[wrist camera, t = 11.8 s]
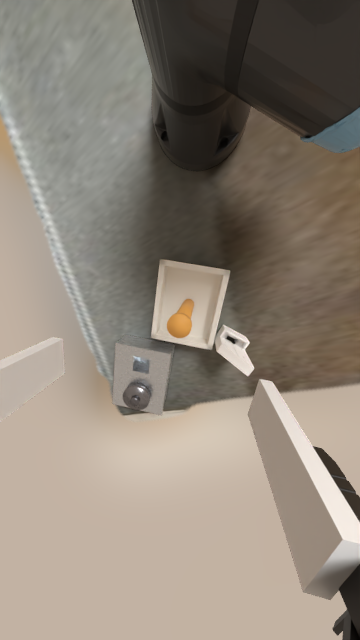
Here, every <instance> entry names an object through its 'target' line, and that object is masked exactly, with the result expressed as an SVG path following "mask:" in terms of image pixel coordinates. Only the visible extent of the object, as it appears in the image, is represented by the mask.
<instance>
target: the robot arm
mask: <svg viewBox="0 0 360 640" xmlns="http://www.w3.org/2000/svg"><path fill="white" fill-rule="evenodd" d="M132 2H133V6H134V10H135V13H136V17H137V20H138V24H139V28H140V31H141V35H142V39H143V42H144V46H145V50H146V53H147V57H148V61H149V64H150V68H151V71H152V118H153V123H154V128H155V131H156V134H157V137H158V140H159V143H160V145H161V147H162V149H163V151H164V152H165V154H166V155H167V156H168V158H169V159H170V160H171V161H172V162H174V163H175V164H176V165H178V166H180V167H182V168H184V169H187V170H192V171H200V170H206V169H209V168H212V167H214V166H216V165H217V164H219V163H220V162H222V161H223V160H224V159H225V158H227V157H228V156H229V155H230V153H231V152H232V151H233V150H234V148H235V147H236V145H237V144H238V142H239V140H240V138H241V136H242V134H243V132H244V129H245V126H246V122H247V119H248V115H249V112H250V107H251V106H252V107H253V108H255V109H257V110H258V111H260V112H262V113H263V114H265V115H266V116H268V117H270V118H271V119H273V120H275V121H276V122H278V123H279V124H281V125H283V126H284V127H286V128H287V129H289V130H291V131H292V132H294V133H296V134H297V135H299V136H300V137H301V140H302V141H304V142H313V143H315V144H317V145H319V146H321V147H323V148H325V149H327V150H329V151H331V152H334V153H343V152H346V151H350V150H352V149H354V148H358V147H360V0H132ZM64 374H65V364H64V347H63V339H61V338H55V337H52V338H49V339H47V340H45V341H43V342H40V343H38V344H36V345H33V346H31V347H29V348H27V349H24V350H22V351H20V352H18V353H15V354H13V355H11V356H8V357H6V358H4V359H2V360H0V422H1V421H2V420H4V419H5V418H6V417H8V416H9V415H10V414H12V413H13V412H14V411H16V410H17V409H18V408H20V407H21V406H22V405H24V404H25V403H26V402H28V401H29V400H30V399H32V398H33V397H34V396H36V395H37V394H38V393H40V392H41V391H42V390H44V389H45V388H46V387H48V386H49V385H50V384H52V383H53V382H54V381H56V380H57V379H58V378H60V377H61V376H62V375H64ZM248 416H249V419H250V422H251V426H252V429H253V432H254V435H255V439H256V442H257V445H258V448H259V452H260V455H261V458H262V461H263V464H264V468H265V471H266V474H267V477H268V481H269V484H270V487H271V490H272V493H273V496H274V500H275V503H276V506H277V509H278V513H279V516H280V519H281V522H282V526H283V529H284V532H285V535H286V538H287V541H288V545H289V548H290V551H291V554H292V558H293V561H294V564H295V567H296V571H297V574H298V577H299V580H300V583H301V587H302V590H303V592H305V593H308V594H312V595H315V596H319V597H322V598H325V599H328V600H331V599H332V597H333V596H334V595H335V594H336V593H337V592H338V591H340V593H341V595H342V598H343V600H344V602H345V605H346V607H347V610H346V611H345V612H344V614H343V615H341V617H340V618H339V619H338V620H337V621H336V622H335V625H334V627H333V631H334V632H335V633H336V634H337V635H339V634H340V633H341V632H342V631H343V640H360V497H359V496H358V495H356V492H355V490H354V489H353V487H352V486H351V484H350V483H349V481H347V480H346V477H345V475H344V474H343V472H342V471H341V470H340V468H339V467H338V465H337V464H336V462H335V461H334V460H333V459H332V458H331V457H330V456H329V455H328V454H327V453H326V452H325V451H324V450H323V449H322V448H318V447H314V446H312V445H311V443H310V441H309V440H308V438H307V437H306V435H305V434H304V432H303V430H302V429H301V427H300V425H299V424H298V422H297V421H296V419H295V417H294V416H293V414H292V412H291V411H290V409H289V408H288V406H287V404H286V403H285V401H284V400H283V398H282V396H281V395H280V393H279V392H278V390H277V388H276V387H275V385H274V384H273V382H272V381H267V380H262V379H259V382H258V385H257V388H256V391H255V394H254V397H253V400H252V403H251V406H250V409H249V412H248Z"/></svg>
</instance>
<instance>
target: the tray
mask: <svg viewBox="0 0 360 640" xmlns="http://www.w3.org/2000/svg"><path fill="white" fill-rule="evenodd" d="M230 271H231V270H225V269H219V268H213V267H206V266H200V265H194V264H188V263H182V262H176V261H170V260H164V259H160V264H159V273H158V281H157V290H156V298H155V307H154V315H153V324H152V333H151V338H153V339H158V340H163V341H168V342H173V343H178V344H183V345H188V346H193V347H198V348H203V349H208V350H212V347H213V343H214V339H215V335H216V330H217V326H218V322H219V318H220V314H221V309H222V305H223V301H224V297H225V292H226V288H227V284H228V280H229V275H230ZM186 299H191V300H193V302H194V308H193V312H192V316H191V321H192V328H191V331H190V333H189V334H188V335H187V336H186V337H184V338H175V337H173V336H172V335H171V334H170V333H169V332H168V330H167V322H168V320H169V318H170V317H171V316H172V315H173V314H175V313H177V311H178V310H179V308H180V307H181V305H182V303H183V302H184V300H186Z"/></svg>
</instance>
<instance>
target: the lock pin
mask: <svg viewBox="0 0 360 640" xmlns="http://www.w3.org/2000/svg"><path fill="white" fill-rule="evenodd" d="M193 308H194V302H193V300H191V299H186V300H184V302H183V303H182V305H181V307H180V308H179V310H178V311H177V313H175V314H173V315H172V316H171V317H170V318H169V320H168V322H167V330H168V332H169V333H170V334H171V335H172V336H173V337H175V338H184V337H186V336H187V335H188V334H189V333H190V331H191V328H192V321H191V316H192V312H193Z"/></svg>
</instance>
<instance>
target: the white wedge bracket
mask: <svg viewBox="0 0 360 640" xmlns="http://www.w3.org/2000/svg"><path fill="white" fill-rule="evenodd" d="M228 336H230V337H231V338H233V339H235V340H234V342H232V341H230V340H228V339H226V338H227V337H228ZM249 343H250V342H249V341H248V339H247V337H245V336H243V335H242V334H240V333H238V332H236V331H234V330H232V329H231V328H229V327H227V326H225V325H222V327H221V328H220V330H219V332H218V333H217V335H216V336H215V345H216V351H217V352H218V353H219V354H220V355H222V356H223V357H224V358H225V359H227V360H228V361H229V362H230V363H232V364H233V365H234V366H235V367H237V368H238V369H239V370H240V371H242V372H243V373H244V374H245V375H247V376H249V375H250V373H251V372H252V371H253V370H254V367H253V365H252V363H251V361H250V359H249V357H248V355H247V353H246V351H245V349H246V347H247V346H248V345H249Z"/></svg>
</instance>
